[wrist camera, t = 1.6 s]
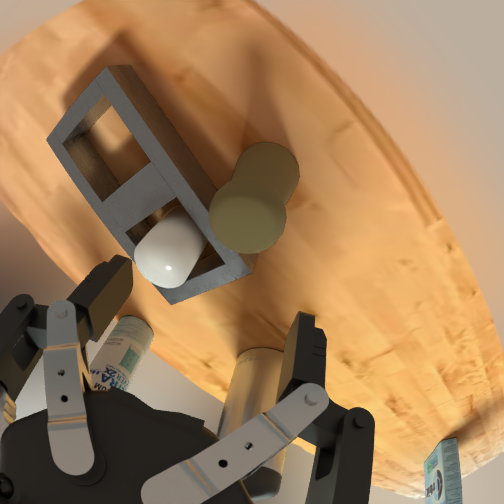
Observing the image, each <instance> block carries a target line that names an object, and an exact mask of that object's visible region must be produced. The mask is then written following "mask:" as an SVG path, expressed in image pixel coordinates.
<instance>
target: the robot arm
mask: <svg viewBox="0 0 504 504" xmlns="http://www.w3.org/2000/svg"><path fill="white" fill-rule="evenodd" d="M132 287H133V272H132V260H131V259H129V258H126V257H123V256H120V255H115V256H114V257H113V258H112V259H111V260H110V261H109V263H108V262H103V263H101V264H99V265H97V266H96V267H95V268H94V269H93V270H92V271H91V272H90V274H89V275H87V277H86V278H85V280H83V281H82V282H81V283H80V284H79V286H78V287H77V288H76V289H75V290H74V291H73V293H72V294H71V295H70V296H69V297H68V298H67V299H66V300H59V301H56V302H54V303H53V304H51V305H50V306H45V305H38V304H35V303H34V300H33V298H32V297H31V296H30V295H28V294H20V295H18V296H16V297H14V298H13V299H12V300H11V301H10V303H9V304H8V305H7V306H6V307H5V309H4V310H3V311H2V313H1V314H0V504H253V502H252V501H255V500H263V499H269V498H272V497H274V496H275V495H276V494H277V493H278V492H279V489H280V484H281V478H282V471H283V466H284V460H285V454H286V447H287V446H288V445H289V444H290V443H291V442H292V441H293V440H295V439H296V438H297V437H300V438H302V439H303V440H305V441H307V442H309V443H311V444H313V445H315V446H317V447H316V452H315V458H314V463H313V469H312V474H311V479H310V484H309V488H308V493H307V498H306V503H305V504H368V501H369V494H370V485H371V475H372V464H373V451H374V433H375V421H374V418H373V416H372V415H371V413H370V412H369V411H367V410H366V409H364V408H360V407H355V408H352V409H350V410H347V409H345V408H343V407H341V406H339V405H338V404H336V403H334V402H333V401H332V400H331V399H330V398H329V397H328V394H327V392H326V391H325V371H326V346H327V338H326V336H325V334H324V331H323V329H320V328H316V327H315V315H312V314H308V313H305V312H301V311H299V312H298V313H297V315H296V317H295V320H294V322H293V324H292V326H291V328H290V330H289V333H288V335H287V339H286V342H285V348H284V353H283V352H280V351H278V350H274V349H269V348H254V349H250V350H247V351H245V352H243V353H241V354H240V356H239V357H238V359H237V362H236V366H235V369H234V373H233V376H232V379H231V383H230V386H229V390H228V393H227V396H226V400H225V403H224V407H223V410H222V414H221V417H220V420H219V424H218V427H217V431H216V434H214V433H213V432H211V431H210V430H208V429H207V428H206V427H204V422H205V421H204V420H201V419H198V418H195V417H191V416H189V415H186V414H183V413H178V412H169V411H161V410H155V409H153V408H151V407H150V406H148V405H147V404H145V403H144V402H142V401H141V400H140V399H138V398H137V397H135V396H134V395H133V394H130V393H128V392H126V391H123V390H121V389H119V388H117V387H115V386H112V385H111V387H110V389H109V391H108V390H95V389H94V386H93V382H92V378H91V373H90V367H89V361H88V353H87V346H86V343H87V342H88V340H89V339H90V340H92V341H95V342H97V341H98V340H99V339H100V337H101V336H102V334H103V333H104V331H105V330H106V328H107V327H108V325H109V324H110V322H111V321H112V319H113V318H114V316H115V315H116V314H117V312H118V311H119V309H120V308H121V306H122V305H123V303H124V302H125V301H126V299H127V298H128V296H129V295H130V293H131V291H132ZM20 337H21V338H20ZM19 338H20V339H19ZM18 340H19V341H18ZM17 341H18V342H17ZM15 344H16V345H15ZM13 347H14V348H13ZM42 354H43V361H44V378H45V391H46V401H47V409H44V410H42V411H39V412H37V413H34V414H32V415H29V416H27V417H24V418H21V419H19V420H16V421H14V420H15V419H16V404H15V400H16V399H17V397H18V395H19V393H20V391H21V390H22V388H23V386H24V384H25V383H26V381H27V379H28V378H29V376H30V374H31V372H32V371H33V369H34V367H35V366H36V364H37V363H38V361H39V359H40V358H41V356H42Z"/></svg>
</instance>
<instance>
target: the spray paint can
mask: <svg viewBox="0 0 504 504" xmlns="http://www.w3.org/2000/svg"><path fill="white" fill-rule="evenodd" d="M153 338H154V334H153V331H152V329H151V328H150V327H149V325H148V324H147V323H145V322H144V321H143V320H141V319H139V318H137V317H135V316H131V315H126V316H123V317H122V318H121V319H120V320H119V322H118V323H117V325H116V326H115V328H114V329H113V331H112V332H111V334H110V335H109V337H108V338H107V340H106V341H105V343H104V344H103V346H102V347H101V349H100V350H99V352H98V353H97V355H96V357H95V358H94V360H93V361H92V363H91V364H90V366H89V367H90V373H91V378H92V382H93V386H94V389H95V390H108V391H109V389H110V387H111V385H112V386H115V387H117V388H119V389H121V390H123V391H127V389H128V387H129V385H130V383H131V381H132V379H133V377H134V375H135V373H136V371H137V369H138V367H139V366H140V364H141V362H142V360H143V358H144V356H145V354H146V352H147V350H148V348H149V346H150V345H151V343H152V341H153Z"/></svg>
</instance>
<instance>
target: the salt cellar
mask: <svg viewBox="0 0 504 504" xmlns="http://www.w3.org/2000/svg"><path fill="white" fill-rule="evenodd" d="M207 243H208V239H207V238H206V237H205V235H204V234H203V232H202V231H201V230H200V228H199V227H198V226H197V224H196V223H195V222H194V220H193V219H192V217H191V216H190V215H189V213H188V212H187V211H186V209H185V208H184V207H183V205H177V206H175V207H173V208H171V209H170V210H169V211H168V212H167V213H166V214H165V215H164V216H163V217H162V218H161V219H160V221H159V222H158V223H157V224H156V225H155V226H154V227H153V228H152V229H151V230H150V231H149V233H148V234H147V235H146V236H145V237H144V238H143V239H142V240H141V241H140V243H139V244H138V245H137V246H136V248H135V252H134V259H135V263H136V266H137V268H138V269H139V271H140V272H141V274H142V275H143V276H144V277H145V278H146V279H147V280H149V281H150V282H152V283H153V284H155V285H157V286H160V287H164V288H176V287H179V286H180V285H182V284H183V283H184V282H185V281H186V279H187V277H188V276H189V274H190V272H191V270H192V269H193V267H194V265H195V264H196V262H197V260H198V258H199V257H200V255H201V253H202V252H203V250H204V248H205V246H206V245H207Z"/></svg>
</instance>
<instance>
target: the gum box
mask: <svg viewBox="0 0 504 504" xmlns="http://www.w3.org/2000/svg"><path fill="white" fill-rule="evenodd" d="M424 471H425V494H426V504H462V486H461V472H460V462H459V453H458V445H457V438H453V439H448V440H444V441H441V442H440V443H439V444H438V446H437V447H436V449H435V450H434V451H433V453H432V454H431V455H430V456H429V458H428V459H427V460H426V462H425V463H424Z"/></svg>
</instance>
